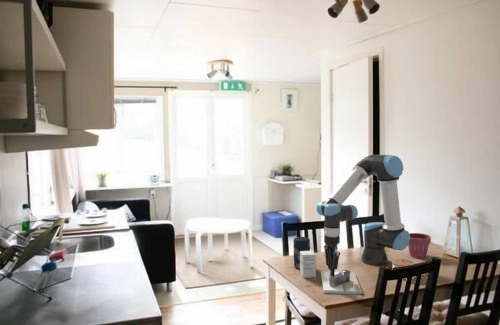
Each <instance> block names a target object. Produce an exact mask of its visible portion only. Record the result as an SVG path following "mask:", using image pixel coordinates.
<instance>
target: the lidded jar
mask: <svg viewBox="0 0 500 325" xmlns="http://www.w3.org/2000/svg"><path fill="white" fill-rule="evenodd" d="M391 263H392V264H391V265H392V269H393V268H394V267H402V266H408V265H413V264H414V265H415V263H414V262H413V261H411V260H409V259H405V258H400V259H399V258H396V259H393V260H392V262H391Z"/></svg>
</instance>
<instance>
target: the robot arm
mask: <svg viewBox="0 0 500 325" xmlns="http://www.w3.org/2000/svg"><path fill="white" fill-rule="evenodd" d="M403 171H404V164H403V161H402V160H401V158H400V157H399V156H396V155H392V154H370V155H367V156H365V157H364V158H362V159H361V160H359V161H358V162H357V163H356V164H355V165H354V166H353V167H352V171H351V172H350V173H349V174H348V175H347V177H345V179H344V180H343V181H342V182H341V184H340V185H339V186H338V187H337V188H336V189H335V190H334V191H333V192H332V194H331V195H330V196H329V197H328V198H327V200H325V201H319V202H318V203H317V205H316V212H317V214H318V215H320V216H323V218H324V219H323V220H324V229H323V231H324V237H323V238H324V239H323V241H324V244H326V245H323V248H324V256H325V264H326V266H327V268H328V272H329V277H331V276H334V275H335V272H336V270H337V269H338V268H339V260H340V256H341V252H339V250H338V245H339V244H340V243H341V242H340V240H341V223H342V222H347V221H352V220H355V219H356V218H357V217H358V214H359V211H358V208H357V207H356V205H354V204H347V205H345V204H344V202H345V201H347V199H348V198H349V197H350V196H351V194H352V193H354V191H355V190H356V189H357V187H358V186H360V184H361V183H362V182H363V181H364V180H367V179H368V178H369V177H371V176H376V179H377V181H378V182H379V183H380V188H381V189H380V190H381V199H382V209H383V219H384V222H380V221H379V222H378V221H375V222H368V223H366V224H365V225H364V226H363V228H364V229H363V243H364V244H363V245H364V246H363V247H364V248H363V250H362V254H361V258H360V259H361V262H362V263H364V264H367V265H370V266H371V265H372V266H382V265H386V264H388V263H389V259H388V255H387V252H386V249H385V248H388V249H391V250H394V251H400V252H401V251H403V250H405V249H406V248H408V244H409V241H410V234H409V233H410V232H409V231H408V230H407V229H405V224H404V223H402V220H401V210H400V201H399V200H400V198H399V191H398V190H399V189H398V181H399V180H400V177H401V176H402V175H403ZM328 281H329V280H328Z"/></svg>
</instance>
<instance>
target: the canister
mask: <svg viewBox="0 0 500 325" xmlns="http://www.w3.org/2000/svg"><path fill="white" fill-rule="evenodd" d="M300 251H311V241H310V238H309V237H306V236H297V237H294V238H293V265H294V267H295V268H296V269H299V270H300Z"/></svg>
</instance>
